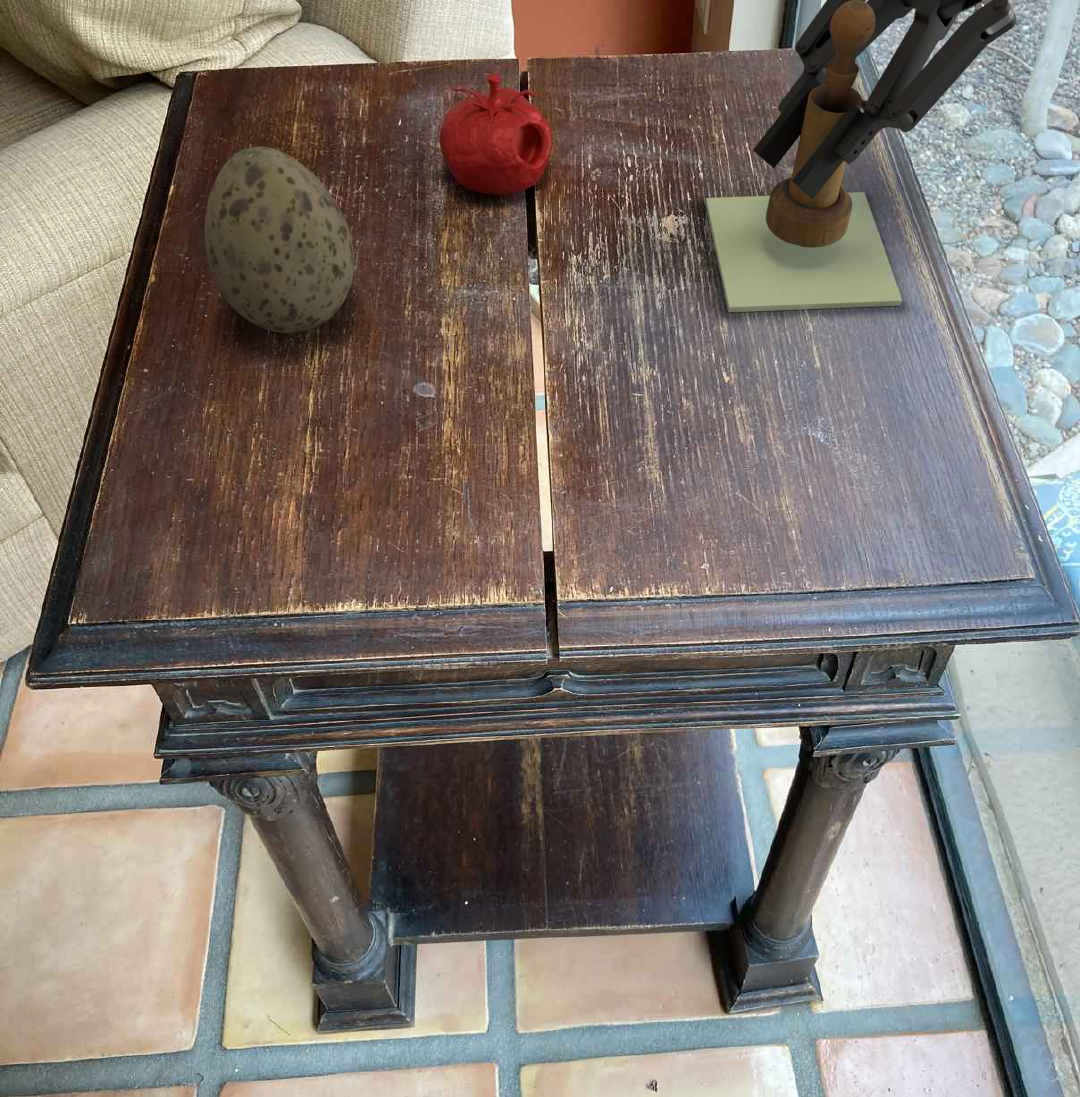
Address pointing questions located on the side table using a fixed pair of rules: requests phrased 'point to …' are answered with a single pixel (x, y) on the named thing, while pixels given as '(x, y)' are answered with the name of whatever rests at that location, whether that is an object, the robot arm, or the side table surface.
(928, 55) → the robot arm
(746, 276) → the mat
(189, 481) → the side table surface
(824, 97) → the mortar and pestle
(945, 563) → the side table surface
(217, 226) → the decorative egg
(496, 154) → the red tomato
